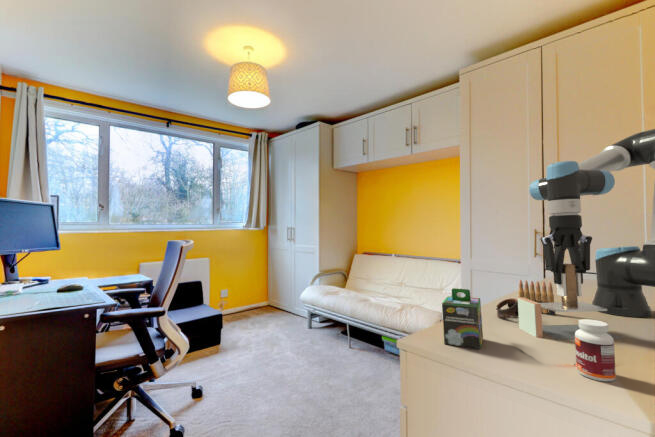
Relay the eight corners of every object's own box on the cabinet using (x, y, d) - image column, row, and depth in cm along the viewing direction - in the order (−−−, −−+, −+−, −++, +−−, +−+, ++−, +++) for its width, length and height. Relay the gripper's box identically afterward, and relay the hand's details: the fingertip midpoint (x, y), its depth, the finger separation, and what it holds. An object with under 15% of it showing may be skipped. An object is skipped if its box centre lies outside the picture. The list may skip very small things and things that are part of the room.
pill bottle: (569, 369, 66) (566, 318, 66) (594, 367, 66) (591, 317, 67) (597, 383, 60) (593, 327, 60) (625, 381, 60) (621, 325, 61)
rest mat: (587, 327, 92) (586, 324, 92) (624, 341, 80) (624, 338, 80) (527, 328, 93) (527, 325, 93) (556, 342, 81) (556, 339, 81)
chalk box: (483, 339, 85) (480, 286, 86) (481, 350, 77) (478, 292, 78) (448, 334, 90) (446, 284, 90) (443, 344, 82) (440, 289, 82)
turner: (583, 303, 91) (580, 262, 91) (607, 310, 83) (604, 265, 83) (536, 304, 91) (533, 263, 92) (555, 311, 83) (553, 266, 84)
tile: (524, 330, 91) (522, 297, 91) (542, 340, 83) (540, 303, 83) (518, 330, 91) (517, 297, 91) (536, 340, 83) (534, 303, 83)
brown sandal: (537, 328, 94) (522, 305, 95) (506, 336, 99) (492, 315, 99) (531, 309, 105) (518, 289, 105) (504, 317, 109) (491, 298, 110)
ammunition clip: (518, 312, 110) (517, 279, 110) (520, 311, 111) (518, 279, 111) (554, 318, 102) (552, 282, 103) (555, 317, 103) (553, 282, 104)
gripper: (544, 214, 84) (549, 298, 83) (605, 213, 84) (610, 297, 83) (527, 216, 92) (531, 293, 91) (582, 214, 92) (587, 292, 91)
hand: (569, 295), depth 87 cm, fingers closed on turner, 4 cm apart
